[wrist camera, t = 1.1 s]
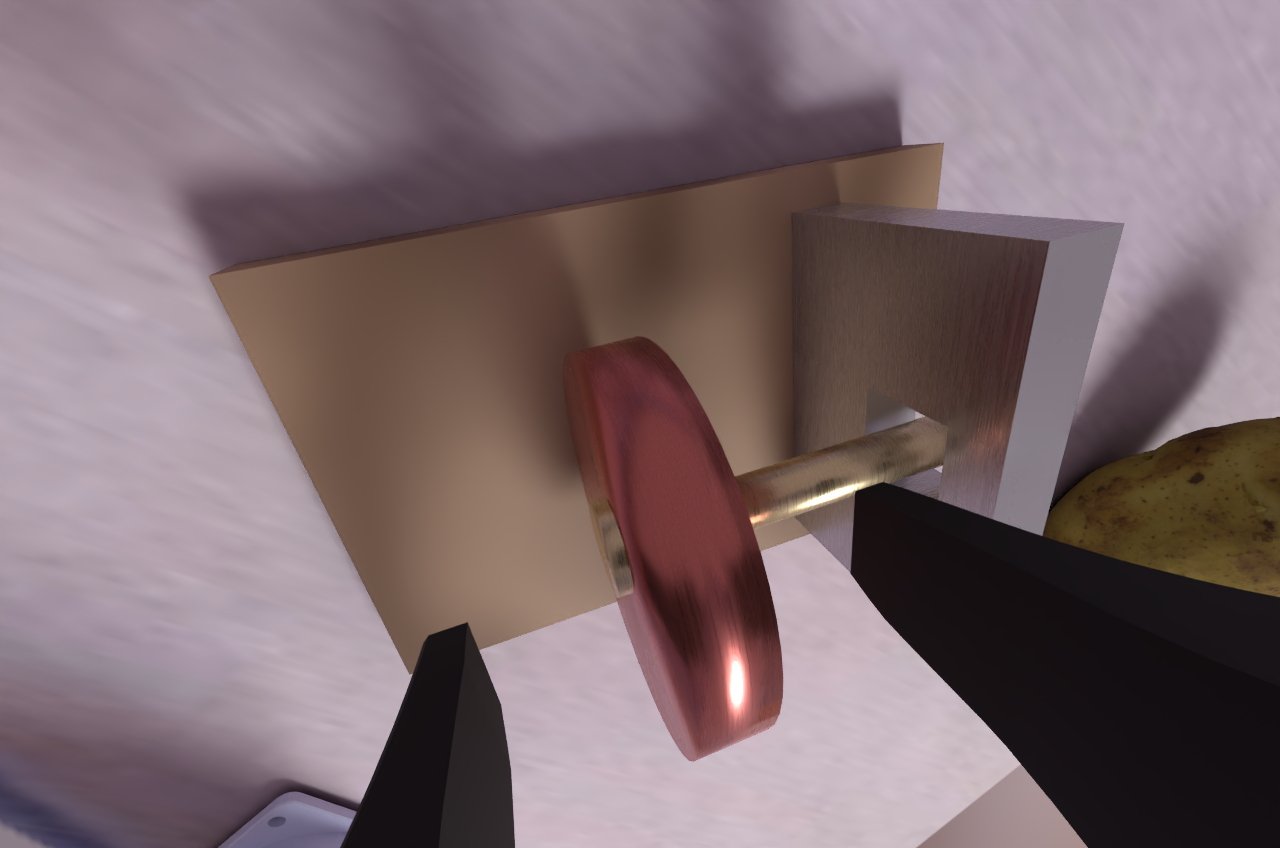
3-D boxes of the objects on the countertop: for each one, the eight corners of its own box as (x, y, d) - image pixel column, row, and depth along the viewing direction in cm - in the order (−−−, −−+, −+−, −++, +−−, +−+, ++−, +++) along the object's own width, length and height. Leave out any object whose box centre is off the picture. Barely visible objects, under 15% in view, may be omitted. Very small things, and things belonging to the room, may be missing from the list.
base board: (903, 145, 16) (943, 142, 15) (877, 480, 21) (905, 500, 20) (234, 265, 12) (209, 276, 11) (412, 637, 18) (409, 674, 16)
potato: (979, 509, 24) (1188, 641, 18) (1201, 354, 25) (1489, 422, 18) (1001, 610, 29) (1177, 749, 22) (1191, 475, 29) (1421, 569, 22)
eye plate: (840, 202, 14) (1123, 223, 8) (831, 504, 19) (1010, 657, 13) (791, 212, 14) (1050, 241, 8) (793, 516, 19) (959, 680, 13)
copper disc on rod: (920, 228, 15) (1326, 273, 8) (896, 469, 19) (1162, 643, 12) (530, 313, 13) (634, 483, 6) (591, 571, 16) (700, 865, 9)
